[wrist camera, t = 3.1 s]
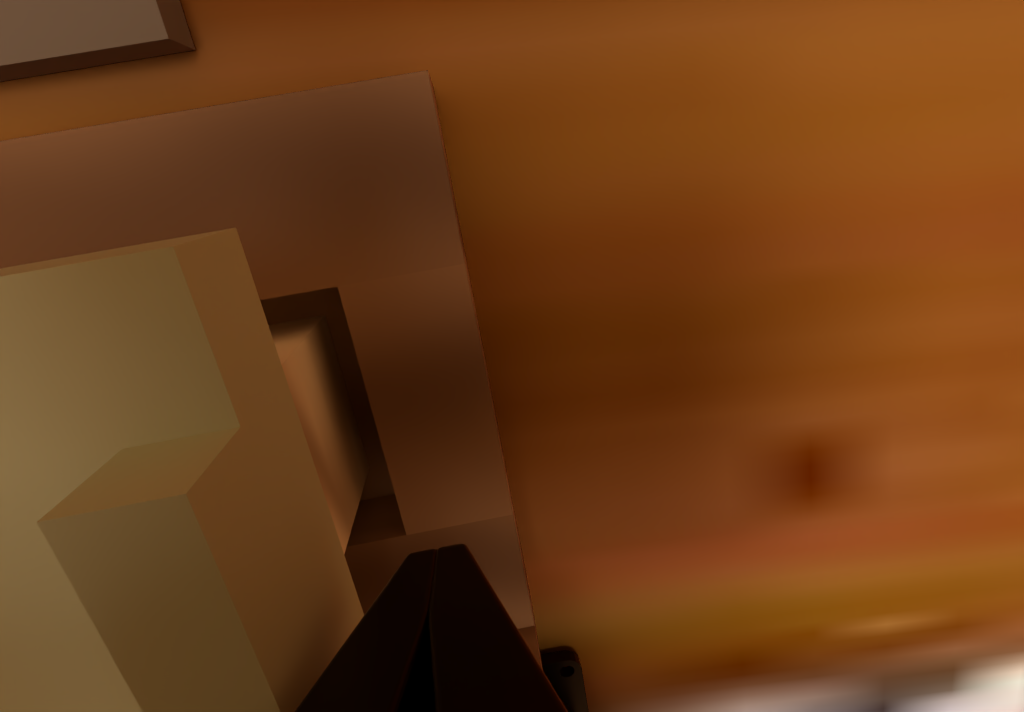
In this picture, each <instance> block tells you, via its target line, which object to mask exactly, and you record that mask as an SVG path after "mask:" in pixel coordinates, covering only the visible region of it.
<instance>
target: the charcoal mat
mask: <svg viewBox="0 0 1024 712" xmlns="http://www.w3.org/2000/svg"><path fill="white" fill-rule="evenodd" d="M192 50H195V47H194V44H193V41H192V38H191V34H190V31H189V28H188V25H187V22H186V19H185V16H184V13H183V10H182V6H181V3H180V0H0V82H2V81H8V80H14V79H20V78H26V77H32V76H39V75H45V74H51V73H57V72H63V71H69V70H76V69H82V68H88V67H94V66H100V65H106V64H112V63H119V62H125V61H131V60H137V59H143V58H149V57H155V56H162V55H168V54H174V53H180V52H186V51H192Z"/></svg>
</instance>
